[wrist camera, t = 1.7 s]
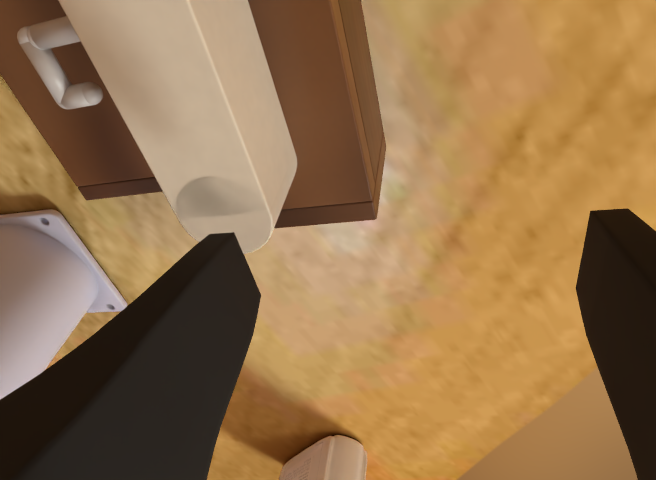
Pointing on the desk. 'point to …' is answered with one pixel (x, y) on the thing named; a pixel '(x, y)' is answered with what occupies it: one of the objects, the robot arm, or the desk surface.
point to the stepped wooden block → (293, 93)
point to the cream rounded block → (184, 103)
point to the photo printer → (328, 461)
